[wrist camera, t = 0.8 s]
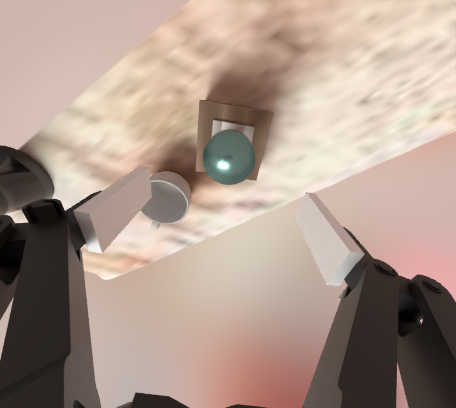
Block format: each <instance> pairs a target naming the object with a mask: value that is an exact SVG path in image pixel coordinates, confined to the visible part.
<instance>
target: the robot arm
mask: <svg viewBox="0 0 456 408" xmlns="http://www.w3.org/2000/svg"><path fill="white" fill-rule="evenodd" d="M52 196H53V185H52V182H51V180H50V178H49V176H48V174H47V173H46V172H45V170H44V169H43V168H42V167H41V166H40V165H39V164H38V163H37V162H36V161H34V160H33V159H32V158H30V157H29V156H28V155H26V154H24V153H22V152H21V151H19V150H16V149H14V148H11V147H7V146H0V320H1V318H2V316H3V314H4V313H5V311H6V309H7V307H8V306H9V304H10V302H11V300H12V299H13V297H14V299H13V304H12V308H11V313H10V318H9V322H8V327H7V332H6V337H5V341H4V346H3V350H2V355H1V360H0V408H101V404H100V399H99V395H98V391H97V388H96V384H95V376H94V367H93V356H92V347H91V338H90V328H89V318H88V309H87V298H86V289H85V280H84V269H83V260H82V252H81V250H80V248H81V247H82V246H83V245H84V244H86V246H87V249H88V251H91V252H99V253H102V252H103V251H104V250H105V249H106V248H107V247H108V246H109V245H110V243H111V242H112V241H113V240H114V239H115V238H116V237H117V236H118V234H119V233H120V232H121V231H122V230H123V229H124V228H125V227H126V225H127V224H128V223H129V222H130V221H131V220H132V219H133V218H134V216H135V215H136V214H137V213H138V212H139V211H140V210H141V209H142V207H143V206H144V205H145V204H146V203H147V202H148V201H149V200H150V198H151V197H152V193H151V182H150V171H149V167H143V166H139V167H138V168H136V169H135V170H133V171H132V172H130V173H129V174H127V175H126V176H124V177H123V178H121V179H120V180H118V181H117V182H115V183H114V184H112V185H111V186H109V187H108V188H106V189H105V190H103V191H98V192H96V193H93V194H91V195H89V196H88V197H86V198H85V199H83V200H82V201H80V202H78V203H77V204H75V205H74V206H72V207H71V208H69V209H68V210H66V211H65V210H64V208H63V205H62V203H61V201H60V200H57V199H51V198H52ZM19 210H22V211H23V213H24V215H25V217H26V218H27V220H28V222H29V223H15V222H14V221H13V219H12V218H11V217H10V216H8V215H4V214H6V213H10V212H15V211H19ZM295 220H296V222H297V224H298V226H299V228H300V230H301V232H302V234H303V236H304V239H305V241H306V243H307V245H308V247H309V249H310V251H311V253H312V255H313V257H314V259H315V261H316V264H317V265H318V268H319V270H320V272H321V274H322V276H323V278H324V280H325V282H326V284H327V285H333V286H340V284H341V283H342V282H343V281H344V280H345V282H346V283H347V285H348V286H347V287H346V289H345V290H344V291H343V292H342V293H341V295H340V296H339V298H341V297H342V298H341V301H340V304H339V307H338V310H337V312H336V315H335V318H334V321H333V324H332V326H331V329H330V332H329V335H328V337H327V340H326V343H325V346H324V349H323V351H322V354H321V357H320V360H319V363H318V365H317V368H316V371H315V374H314V377H313V380H312V382H311V385H310V388H309V391H308V393H307V396H306V399H305V402H304V404H303V407H302V408H396V385H397V383H396V382H397V363H398V366H399V370H400V375H401V379H402V382H403V386H404V391H405V395H406V399H407V402H408V406H409V408H456V302H455V300H454V299H453V297H452V296H451V294H450V293H449V292H448V290H447V289H446V288H444V287H443V286H442V285H441V284H440V283H438V282H436V280H434V279H431V278H429V277H427V276H423V275H416V276H415V277H414V278H413V279H411V280H410V279H407V278H404V277H402V276H399V275H398V273H397V272H396V271H395V270H394V269H393V268H392V267H391V266H390V265H388V264H387V263H385V262H383V261H380V260H378V259H373V257H372V256H371V255H370V254H369V253H368V252H367V250H366V249H365V248H364V247H363V246H362V245H361V244H360V242H359V241H358V240H357V239H356V238H355V237H354V235H353V234H352V233H351V232H350V231H348V230H347V229H346V228H344V227H342V226H341V225H340V224H339V222H338V221H337V220H336V218H335V217H334V216H333V215H332V214H331V212H330V211H329V210H328V209H327V208H326V206H325V205H324V204H323V203H322V201H321V200H320V199H319V198H318V196H317V195H316V194H313V193H307V192H306V195H305V197H304V200H303V202H302V204H301V206H300V209H299V211H298V213H297V216H296V218H295ZM421 319H423V322H422V324H421V322H420V320H421ZM117 408H189V407H187V406H185V405H183V404H182V403H180V402H178V401H176V400H175V399H173V398H171V397H169V396H161V395H152V394H144V393H135V396H134V399H133V402H129V403H126V404H124V405H121V406H119V407H117ZM227 408H265V407H257V406H248V405H239V404H237V405H233V406H230V407H227Z"/></svg>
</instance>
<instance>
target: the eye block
mask: <svg viewBox="0 0 456 408" xmlns="http://www.w3.org/2000/svg"><path fill="white" fill-rule="evenodd" d="M272 116H273V113H272V112H269V111H266V110H260V109H254V108H248V107H243V106H237V105H231V104H225V103H219V102H214V101H208V100H200V101H199V120H198V138H197V156H196V171H198V172H204V173H207V172H206V170H205V168H204V165H203V151H204V148H205V146H206V144H207V143H208V141H209V140H210V139H211V137H212V136H213V135H214V134H216V133H217V132H219V131H222V130H226V129H233V130H237V131H240V132H242V133H243V134H245V135H246V136H247V137H248V138H249V140H250V141H251V143H252V145H253V148H254V151H255V157H256V161H255V166H254V169H253V171H252V173H251V174H250V175H249V177H247V178H246V179H249V180H255V181H256V180H257V176H258V172H259V168H260V164H261V160H262V156H263V152H264V148H265V144H266V140H267V136H268V132H269V128H270V124H271V120H272Z"/></svg>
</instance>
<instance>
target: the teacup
mask: <svg viewBox="0 0 456 408" xmlns="http://www.w3.org/2000/svg"><path fill="white" fill-rule="evenodd" d="M150 182H151V193H152V197H151V198H150V200H149V201H148V202H147V203H146V204H145V205H144V206H143V207H142V209H141V210H140V211H141V212H142V213H143V214H144V215H145V216H146V217H147V218H149V219H151V220H153V222H152V225H151V227H152V228H153V229H158V228H159V226H160V224H161V223H163V224H173V223H176V222H179V221H181V220H182V219H183V218H184V217H185V216H186V215H187V213H188V210H189V205H190V201H191V189H190V186H189V184H188V183H187V181H186V180H185V179H184V178H183V177H182V176H180V175H179V174H176V173H174V172H169V171H162V172H158V173H156V174H154V175H152V176H151V177H150Z"/></svg>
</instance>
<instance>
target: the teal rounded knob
mask: <svg viewBox="0 0 456 408" xmlns="http://www.w3.org/2000/svg"><path fill="white" fill-rule="evenodd" d="M255 161H256V157H255V151H254V148H253V145H252V143H251V141H250V140H249V138H248V137H247V136H246V135H245V134H243V133H242V132H240V131H237V130H233V129H226V130H222V131H219V132H217V133H216V134H214V135H213V136H212V137H211V139H210V140H209V141H208V143H207V144H206V146H205V148H204V151H203V165H204V168H205V170H206V172H207V174H208V175H209V176H210V177H211V178H212V179H213V180H215V181H217V182H219V183H221V184H226V185H233V184H237V183H240V182H242V181H244V180H245V179H246V178H247V177H249V175H250V174H251V173H252V171H253V169H254V166H255Z"/></svg>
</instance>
